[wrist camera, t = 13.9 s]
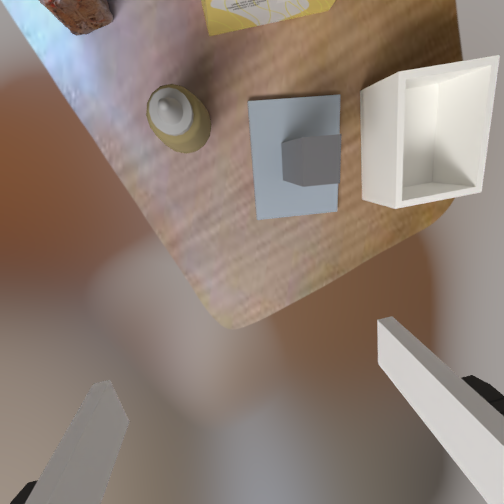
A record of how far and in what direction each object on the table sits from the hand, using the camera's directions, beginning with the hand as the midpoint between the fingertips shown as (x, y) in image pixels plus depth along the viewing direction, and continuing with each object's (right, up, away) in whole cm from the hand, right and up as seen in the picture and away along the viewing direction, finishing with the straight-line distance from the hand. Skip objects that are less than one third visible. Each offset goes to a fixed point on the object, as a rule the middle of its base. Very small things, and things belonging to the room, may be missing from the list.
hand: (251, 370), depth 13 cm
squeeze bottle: (-11, +26, +29) cm, 41 cm away
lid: (+7, +22, +33) cm, 40 cm away
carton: (+26, +25, +34) cm, 50 cm away
